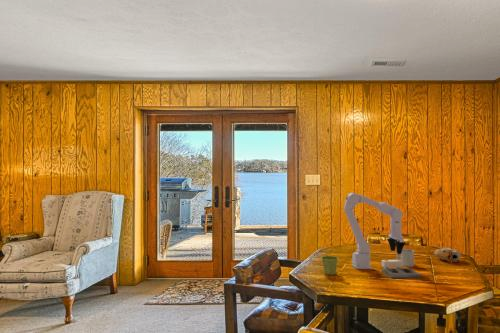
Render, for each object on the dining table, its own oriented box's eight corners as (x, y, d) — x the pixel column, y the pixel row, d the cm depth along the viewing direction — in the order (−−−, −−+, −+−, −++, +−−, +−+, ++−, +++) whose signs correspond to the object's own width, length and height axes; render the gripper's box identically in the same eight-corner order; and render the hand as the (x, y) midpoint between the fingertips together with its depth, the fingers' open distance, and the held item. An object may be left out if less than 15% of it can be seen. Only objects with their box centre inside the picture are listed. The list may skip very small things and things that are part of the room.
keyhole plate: (391, 278, 178) (391, 275, 178) (381, 271, 190) (381, 268, 190) (421, 277, 179) (421, 274, 179) (409, 271, 191) (409, 268, 191)
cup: (412, 267, 198) (411, 252, 198) (394, 264, 205) (394, 249, 205) (415, 265, 203) (415, 250, 204) (398, 262, 210) (398, 247, 210)
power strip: (384, 270, 193) (384, 261, 193) (381, 268, 196) (381, 259, 196) (403, 270, 193) (403, 260, 193) (400, 268, 197) (400, 259, 197)
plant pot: (329, 277, 181) (328, 260, 181) (317, 272, 189) (317, 256, 189) (342, 274, 185) (342, 258, 185) (330, 270, 194) (330, 255, 194)
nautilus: (461, 268, 199) (432, 265, 207) (461, 258, 217) (435, 256, 225) (460, 254, 199) (431, 253, 207) (460, 245, 217) (434, 244, 225)
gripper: (409, 230, 189) (409, 255, 189) (396, 226, 204) (396, 249, 204) (396, 230, 189) (396, 255, 189) (385, 226, 204) (385, 249, 203)
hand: (396, 252), depth 196 cm, fingers open, 7 cm apart
